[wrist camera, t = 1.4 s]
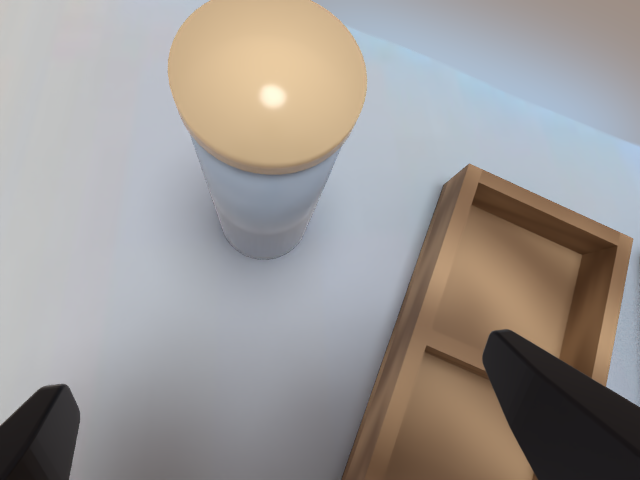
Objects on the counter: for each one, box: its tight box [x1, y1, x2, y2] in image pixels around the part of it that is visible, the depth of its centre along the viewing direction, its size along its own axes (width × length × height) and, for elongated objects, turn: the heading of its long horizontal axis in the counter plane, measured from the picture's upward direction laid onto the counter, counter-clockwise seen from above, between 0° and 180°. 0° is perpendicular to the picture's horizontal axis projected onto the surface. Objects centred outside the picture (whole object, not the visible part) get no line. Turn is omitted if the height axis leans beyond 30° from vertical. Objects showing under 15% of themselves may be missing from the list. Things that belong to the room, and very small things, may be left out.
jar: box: [168, 0, 367, 259], centre depth 16 cm, size 5×5×13 cm
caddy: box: [341, 164, 633, 480], centre depth 21 cm, size 19×10×3 cm, turn 158°
